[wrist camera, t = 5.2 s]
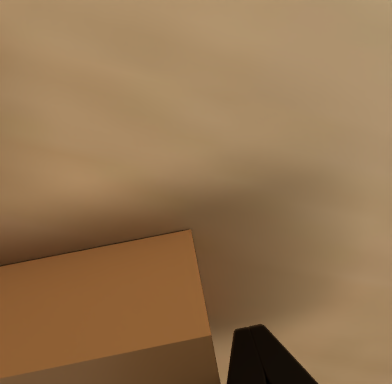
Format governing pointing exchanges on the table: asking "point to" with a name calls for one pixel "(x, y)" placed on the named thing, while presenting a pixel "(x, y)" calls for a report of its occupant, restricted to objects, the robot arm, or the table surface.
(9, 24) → the table surface
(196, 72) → the table surface
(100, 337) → the tan bar
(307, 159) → the table surface
